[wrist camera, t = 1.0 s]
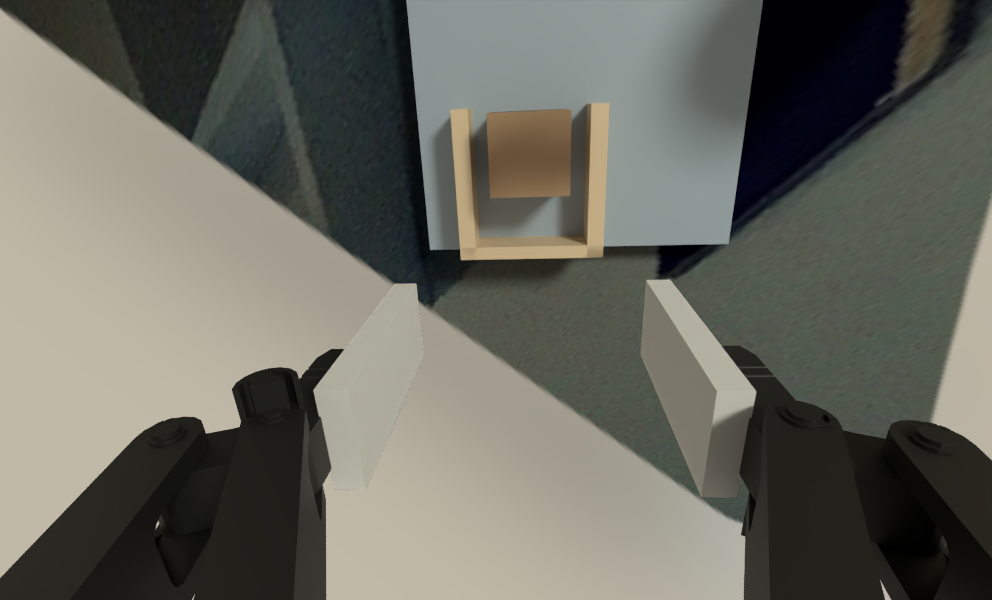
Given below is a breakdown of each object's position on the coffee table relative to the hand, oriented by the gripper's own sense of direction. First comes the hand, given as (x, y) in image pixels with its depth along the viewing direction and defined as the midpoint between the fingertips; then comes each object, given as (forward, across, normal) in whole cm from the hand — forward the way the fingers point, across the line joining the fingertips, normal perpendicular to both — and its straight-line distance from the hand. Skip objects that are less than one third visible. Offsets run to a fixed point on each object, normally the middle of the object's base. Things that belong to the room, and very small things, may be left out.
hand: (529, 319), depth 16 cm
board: (+19, +3, +10) cm, 22 cm away
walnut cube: (+17, 0, +4) cm, 18 cm away
